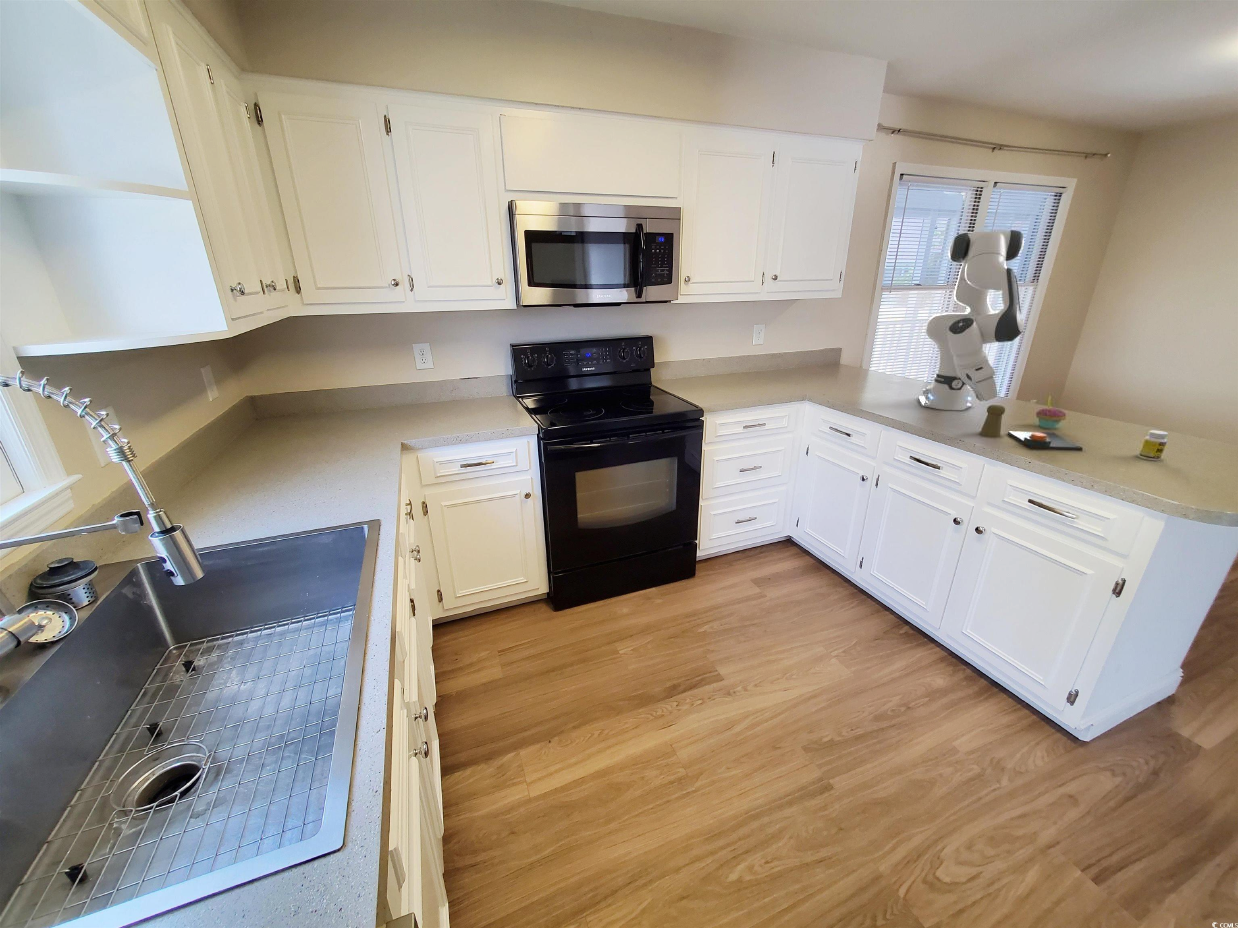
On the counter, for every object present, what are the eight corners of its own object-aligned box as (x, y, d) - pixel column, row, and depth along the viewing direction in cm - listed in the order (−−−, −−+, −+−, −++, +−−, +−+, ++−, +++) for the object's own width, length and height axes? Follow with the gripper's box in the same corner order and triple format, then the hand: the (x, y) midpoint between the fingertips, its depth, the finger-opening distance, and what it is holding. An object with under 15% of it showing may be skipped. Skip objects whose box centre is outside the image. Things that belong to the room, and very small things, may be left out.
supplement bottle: (1155, 461, 149) (1165, 435, 146) (1134, 457, 153) (1144, 431, 150) (1163, 459, 151) (1173, 432, 148) (1143, 454, 155) (1152, 428, 152)
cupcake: (1031, 427, 183) (1040, 396, 179) (1034, 422, 189) (1042, 391, 185) (1061, 431, 178) (1071, 399, 173) (1063, 426, 183) (1072, 394, 179)
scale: (1004, 434, 177) (1006, 426, 176) (1052, 435, 174) (1054, 427, 173) (1029, 449, 162) (1031, 441, 161) (1082, 451, 159) (1085, 442, 158)
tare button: (1027, 437, 166) (1028, 432, 165) (1041, 437, 165) (1042, 432, 165) (1034, 440, 162) (1035, 435, 162) (1048, 441, 162) (1049, 436, 161)
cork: (1003, 437, 174) (1011, 407, 170) (984, 437, 175) (991, 407, 171) (995, 432, 180) (1002, 403, 176) (976, 432, 181) (983, 403, 177)
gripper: (948, 358, 175) (958, 390, 181) (974, 381, 158) (984, 415, 163) (968, 350, 173) (977, 383, 178) (997, 372, 156) (1006, 407, 161)
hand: (981, 399), depth 171 cm, fingers closed
